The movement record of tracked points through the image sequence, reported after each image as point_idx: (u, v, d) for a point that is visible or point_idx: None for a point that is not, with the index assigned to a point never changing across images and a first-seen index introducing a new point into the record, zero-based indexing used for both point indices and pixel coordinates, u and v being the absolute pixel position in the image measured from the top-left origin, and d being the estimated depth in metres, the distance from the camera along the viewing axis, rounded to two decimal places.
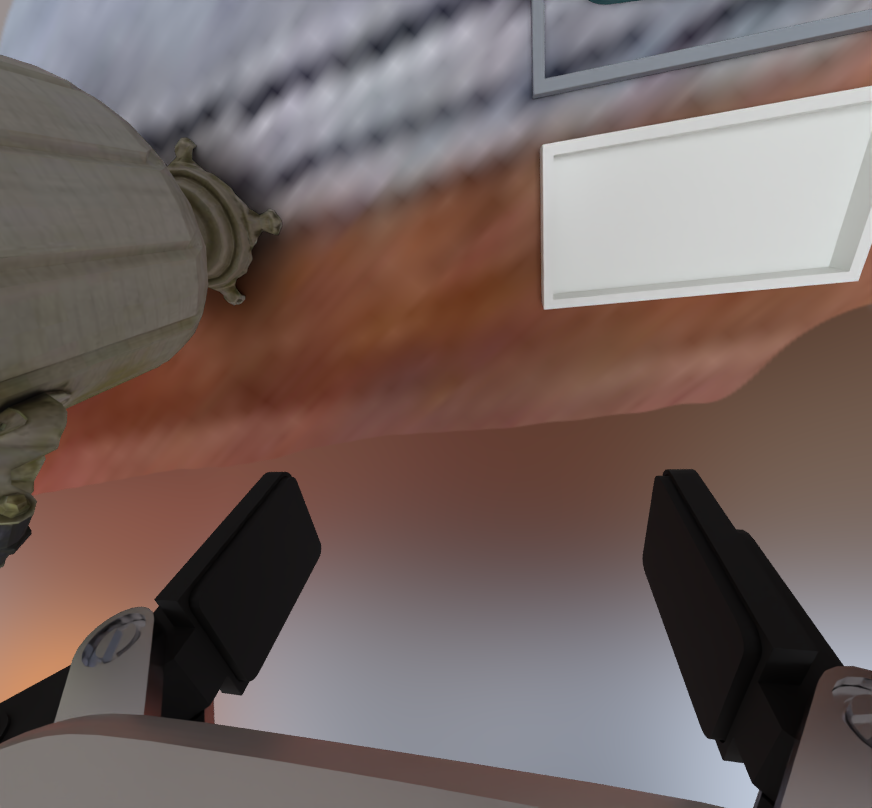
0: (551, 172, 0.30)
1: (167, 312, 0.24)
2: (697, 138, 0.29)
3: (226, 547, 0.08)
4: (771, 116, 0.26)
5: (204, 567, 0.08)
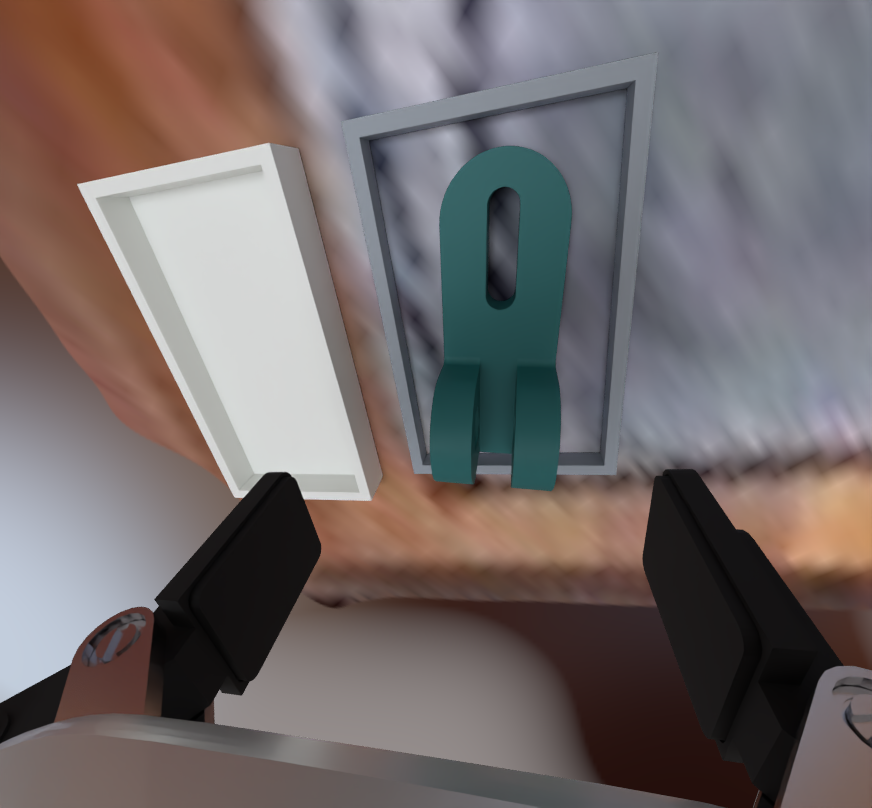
0: (241, 164, 0.20)
1: None
2: None
3: (226, 547, 0.08)
4: (334, 406, 0.26)
5: (204, 567, 0.08)
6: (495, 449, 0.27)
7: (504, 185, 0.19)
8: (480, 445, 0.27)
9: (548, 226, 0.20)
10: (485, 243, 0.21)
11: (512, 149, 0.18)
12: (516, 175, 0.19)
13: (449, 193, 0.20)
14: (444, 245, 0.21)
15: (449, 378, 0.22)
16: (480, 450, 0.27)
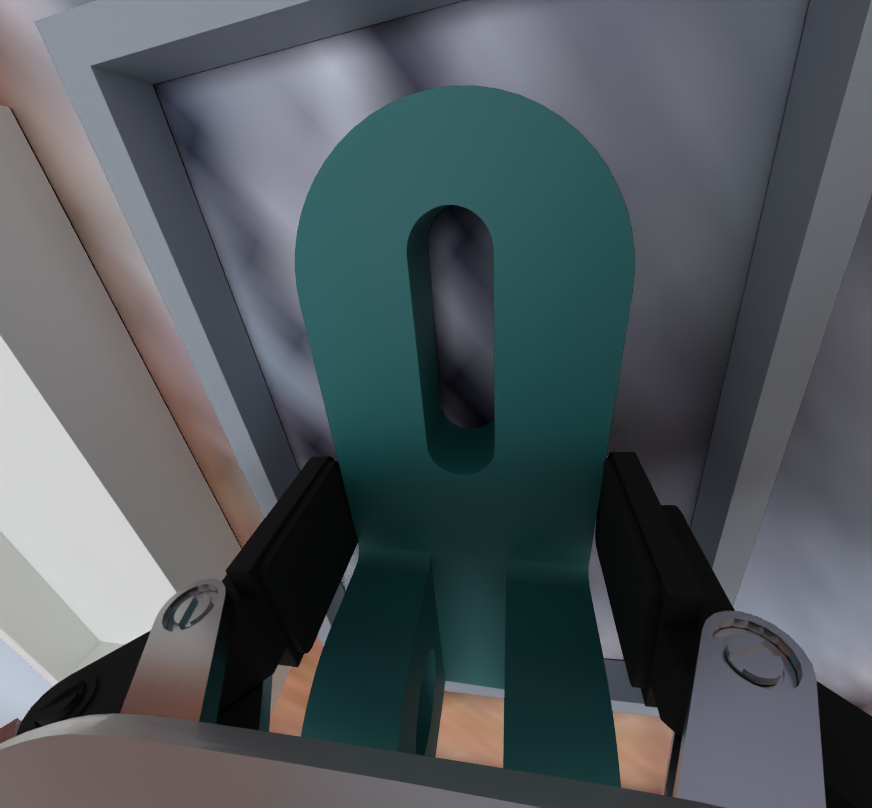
0: None
1: None
2: None
3: (285, 524, 0.08)
4: None
5: (268, 542, 0.08)
6: (474, 680, 0.14)
7: (446, 201, 0.07)
8: (446, 673, 0.15)
9: (568, 305, 0.07)
10: (414, 342, 0.08)
11: (460, 96, 0.06)
12: (477, 173, 0.07)
13: (308, 225, 0.08)
14: (319, 346, 0.09)
15: (354, 627, 0.10)
16: (447, 679, 0.15)
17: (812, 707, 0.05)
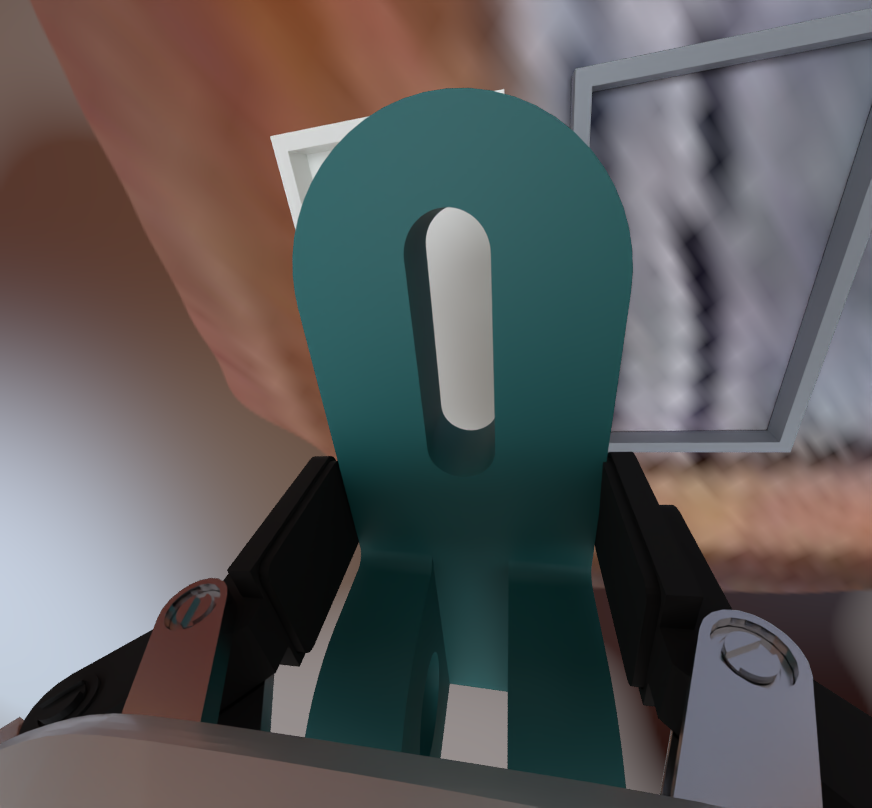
0: None
1: None
2: None
3: (286, 524, 0.08)
4: None
5: (270, 542, 0.08)
6: (479, 683, 0.14)
7: (442, 204, 0.07)
8: (450, 676, 0.14)
9: (566, 305, 0.07)
10: (412, 344, 0.08)
11: (455, 99, 0.06)
12: (473, 175, 0.07)
13: (305, 230, 0.08)
14: (318, 350, 0.09)
15: (357, 631, 0.10)
16: (451, 682, 0.15)
17: (810, 705, 0.05)
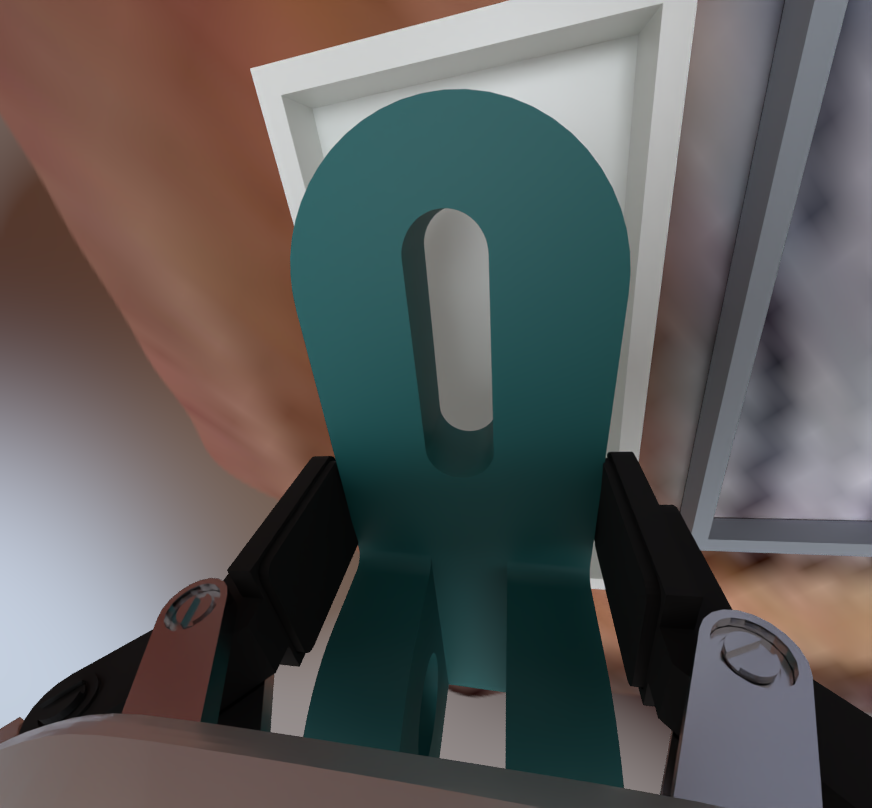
0: (616, 6, 0.10)
1: None
2: None
3: (286, 524, 0.08)
4: None
5: (270, 542, 0.08)
6: (477, 683, 0.14)
7: (440, 205, 0.07)
8: (449, 676, 0.14)
9: (564, 306, 0.07)
10: (411, 345, 0.08)
11: (452, 100, 0.06)
12: (470, 176, 0.07)
13: (303, 231, 0.08)
14: (316, 351, 0.09)
15: (356, 632, 0.10)
16: (450, 682, 0.15)
17: (810, 705, 0.05)
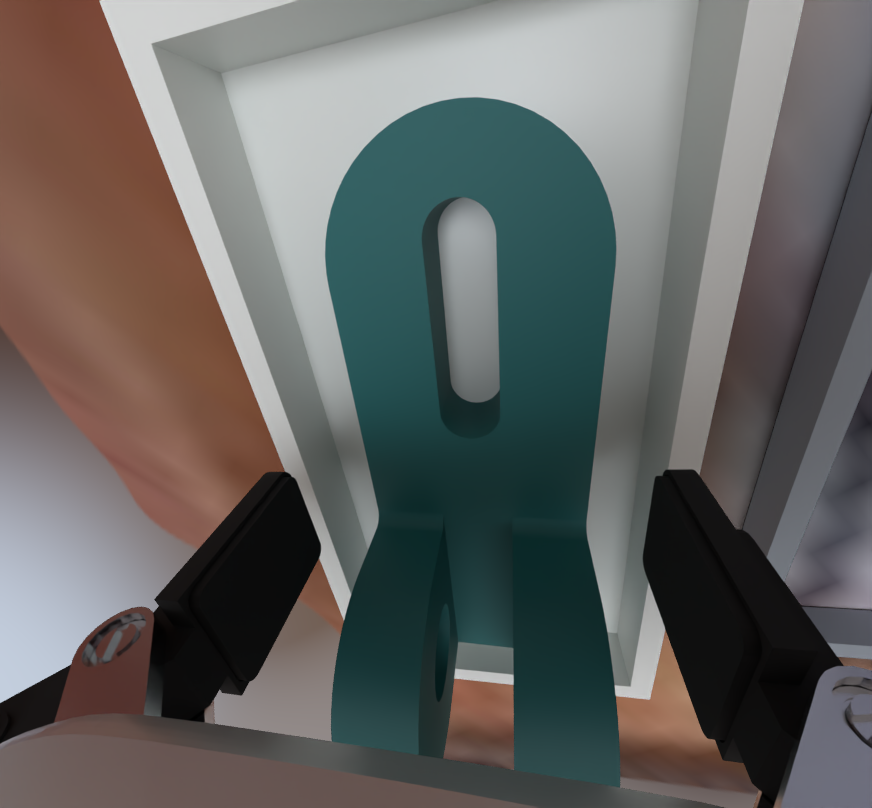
0: None
1: None
2: (631, 419, 0.12)
3: (226, 547, 0.08)
4: None
5: (205, 567, 0.08)
6: (485, 640, 0.16)
7: (455, 194, 0.08)
8: (459, 634, 0.16)
9: (561, 280, 0.09)
10: (428, 318, 0.10)
11: (466, 106, 0.07)
12: (481, 169, 0.08)
13: (337, 218, 0.09)
14: (345, 324, 0.10)
15: (378, 577, 0.11)
16: (460, 640, 0.16)
17: None
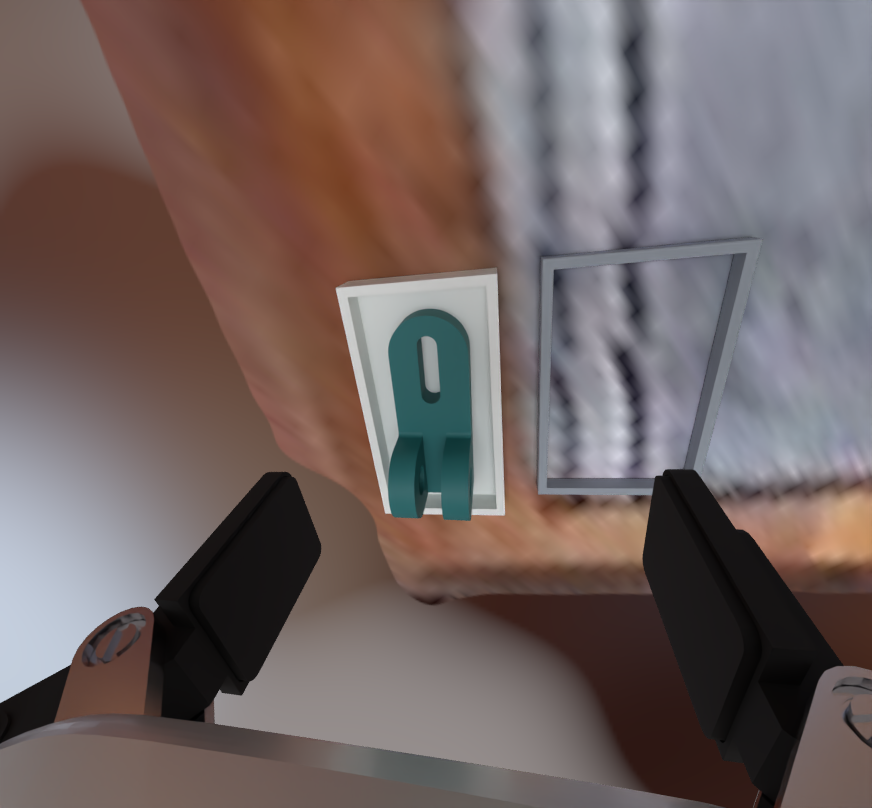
0: (471, 284, 0.29)
1: None
2: (488, 399, 0.35)
3: (226, 547, 0.08)
4: (494, 445, 0.35)
5: (204, 567, 0.08)
6: (439, 490, 0.38)
7: (425, 335, 0.31)
8: (428, 488, 0.38)
9: (454, 357, 0.32)
10: (418, 366, 0.32)
11: (428, 317, 0.30)
12: (432, 330, 0.31)
13: (393, 338, 0.32)
14: (392, 367, 0.33)
15: (400, 449, 0.34)
16: (429, 491, 0.39)
17: None
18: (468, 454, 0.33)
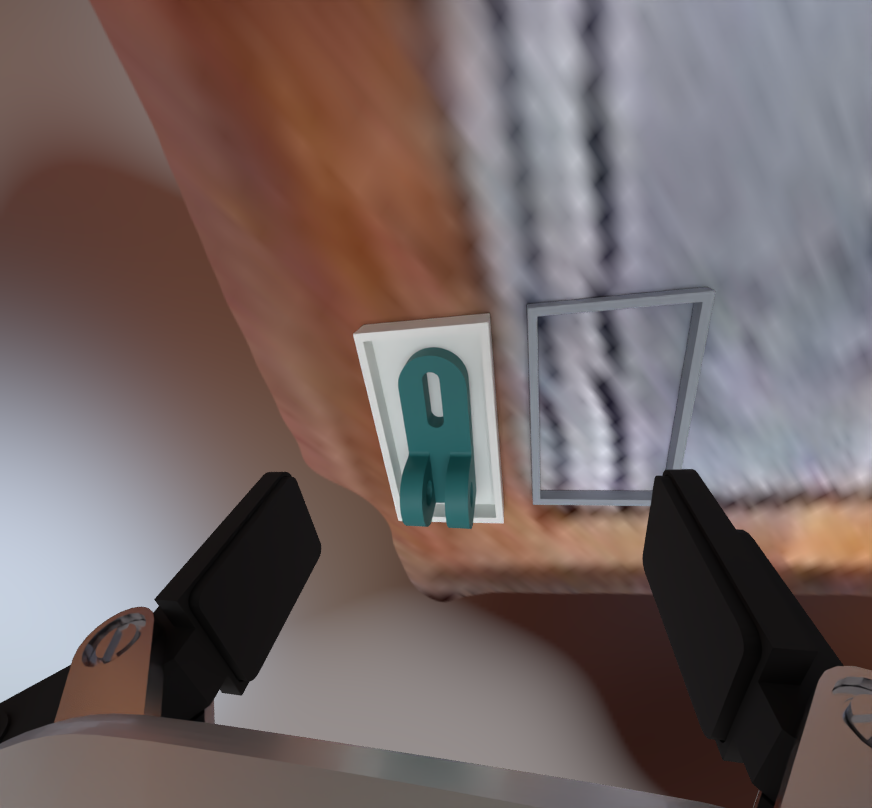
0: (467, 331, 0.34)
1: None
2: (486, 423, 0.41)
3: (226, 547, 0.08)
4: (491, 463, 0.40)
5: (204, 567, 0.08)
6: None
7: (429, 371, 0.36)
8: (436, 499, 0.44)
9: (455, 389, 0.37)
10: (423, 396, 0.38)
11: (431, 356, 0.36)
12: (435, 367, 0.36)
13: (401, 374, 0.37)
14: (402, 397, 0.38)
15: (410, 467, 0.39)
16: (436, 501, 0.44)
17: None
18: (468, 472, 0.38)
